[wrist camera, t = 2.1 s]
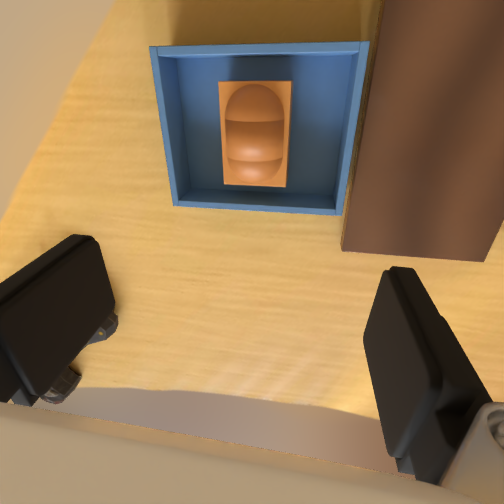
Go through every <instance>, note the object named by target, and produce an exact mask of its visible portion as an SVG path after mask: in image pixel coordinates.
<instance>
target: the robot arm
mask: <svg viewBox="0 0 504 504" xmlns="http://www.w3.org/2000/svg"><path fill="white" fill-rule="evenodd" d="M114 308H115V299H114V296H113V292H112V289H111V285H110V281H109V278H108V274H107V271H106V267H105V264H104V260H103V256H102V253H101V249H100V246H99V243H98V242H97V241H95V239H94V238H93V237H92V236H88V235H78V234H73V235H70V236H69V237H67V238H66V239H64V240H63V241H61V242H60V243H59V244H57V245H56V246H54V247H53V248H51V249H50V250H48V251H47V252H45V253H44V254H42V255H41V256H40V257H38V258H37V259H35V260H34V261H32V262H31V263H29V264H28V265H26V266H25V267H24V268H22V269H21V270H19V271H18V272H16V273H15V274H13V275H12V276H10V277H9V278H7V279H6V280H5V281H3V282H2V283H0V504H504V402H493V401H492V399H491V397H490V395H489V394H488V392H487V390H486V389H485V387H484V385H483V383H482V382H481V380H480V378H479V376H478V375H477V373H476V371H475V370H474V368H473V366H472V364H471V363H470V361H469V359H468V357H467V356H466V354H465V352H464V351H463V349H462V347H461V345H460V344H459V342H458V340H457V338H456V337H455V335H454V333H453V332H452V330H451V328H450V326H449V325H448V323H447V321H446V320H445V319H444V317H443V316H441V315H440V314H439V312H438V310H437V308H436V307H435V305H434V303H433V301H432V300H431V298H430V296H429V294H428V293H427V291H426V289H425V287H424V286H423V284H422V282H421V280H420V278H419V277H418V275H417V273H416V271H415V270H414V269H413V268H406V267H397V266H392V267H391V268H390V270H385V271H384V272H383V274H382V277H381V280H380V283H379V286H378V289H377V293H376V296H375V299H374V302H373V306H372V309H371V312H370V315H369V318H368V322H367V325H366V328H365V331H364V336H363V344H364V349H365V353H366V358H367V362H368V367H369V371H370V376H371V380H372V385H373V389H374V394H375V399H376V403H377V408H378V412H379V417H380V421H381V426H382V430H383V435H384V439H385V444H386V448H387V452H388V454H389V455H390V456H391V457H395V459H396V463H397V468H398V472H401V473H407V474H412V475H415V478H416V480H414V479H410V478H406V477H402V476H398V475H394V474H390V473H386V472H381V471H375V470H371V469H366V468H361V467H356V466H351V465H346V464H341V463H336V462H331V461H326V460H321V459H316V458H311V457H306V456H301V455H295V454H290V453H284V452H279V451H273V450H268V449H262V448H257V447H252V446H246V445H241V444H235V443H230V442H224V441H219V440H213V439H208V438H202V437H197V436H191V435H186V434H180V433H175V432H169V431H163V430H158V429H152V428H147V427H141V426H135V425H130V424H124V423H118V422H113V421H107V420H101V419H96V418H90V417H85V416H79V415H73V414H67V413H62V412H56V411H50V410H44V409H38V408H33V407H32V406H33V404H34V403H35V402H36V401H37V400H38V398H39V397H40V396H42V395H44V394H46V393H47V392H48V391H49V389H50V388H51V387H52V386H53V385H54V383H55V382H56V381H57V380H58V378H59V377H60V376H61V375H62V373H63V372H64V371H65V370H66V368H67V367H68V366H69V365H70V364H71V362H72V361H73V360H74V359H75V357H76V356H77V355H78V354H79V352H80V351H81V350H82V349H83V348H84V346H85V345H86V344H87V343H88V341H89V340H90V339H91V338H92V336H93V335H94V334H95V333H96V331H97V330H98V329H99V328H100V327H101V325H102V324H103V323H104V322H105V320H106V319H107V318H108V317H109V315H110V314H111V313H112V312H113V310H114ZM10 399H12V401H13V402H14V404H8V403H7V402H8V401H9V400H10ZM15 404H18V405H15ZM21 405H24V406H21ZM27 406H29V407H27Z"/></svg>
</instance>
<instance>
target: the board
mask: <svg viewBox="0 0 504 504" xmlns="http://www.w3.org/2000/svg"><path fill="white" fill-rule="evenodd" d="M503 220H504V0H381V6H380V12H379V18H378V24H377V30H376V36H375V42H374V48H373V54H372V60H371V66H370V72H369V78H368V83H367V89H366V95H365V101H364V107H363V113H362V119H361V125H360V131H359V137H358V143H357V149H356V155H355V161H354V167H353V173H352V179H351V185H350V191H349V196H348V202H347V208H346V214H345V220H344V226H343V232H342V238H341V250H342V251H343V252H356V253H369V254H382V255H395V256H408V257H422V258H435V259H448V260H461V261H474V262H484V261H485V259H486V256H487V254H488V252H489V250H490V248H491V246H492V244H493V241H494V239H495V237H496V235H497V233H498V231H499V229H500V227H501V224H502V222H503Z"/></svg>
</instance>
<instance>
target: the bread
mask: <svg viewBox="0 0 504 504" xmlns="http://www.w3.org/2000/svg"><path fill="white" fill-rule="evenodd" d="M218 87H219V104H220V122H221V140H222V157H223V175H224V184H230V185H252V186H273V187H286V184H287V179H288V170H289V152H290V134H291V117H292V99H293V80H264V81H219V82H218Z"/></svg>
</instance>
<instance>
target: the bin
mask: <svg viewBox="0 0 504 504" xmlns="http://www.w3.org/2000/svg"><path fill="white" fill-rule="evenodd" d="M369 45H370V41H361V42H360V41H338V42H298V43H258V44H217V45H177V46H149V50H150V57H151V64H152V70H153V77H154V83H155V90H156V96H157V103H158V109H159V116H160V122H161V129H162V135H163V142H164V149H165V155H166V162H167V168H168V175H169V181H170V188H171V194H172V201H173V206H181V207H198V208H215V209H232V210H248V211H265V212H282V213H299V214H316V215H333V216H334V215H335V216H342V212H343V206H344V200H345V193H346V187H347V181H348V175H349V169H350V163H351V156H352V150H353V144H354V138H355V132H356V125H357V119H358V113H359V107H360V101H361V95H362V88H363V82H364V76H365V70H366V64H367V57H368V51H369ZM264 80H293V99H292V117H291V134H290V152H289V170H288V179H287V184H286V187H273V186H252V185H230V184H224V175H223V157H222V140H221V122H220V104H219V87H218V82H219V81H264Z"/></svg>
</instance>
